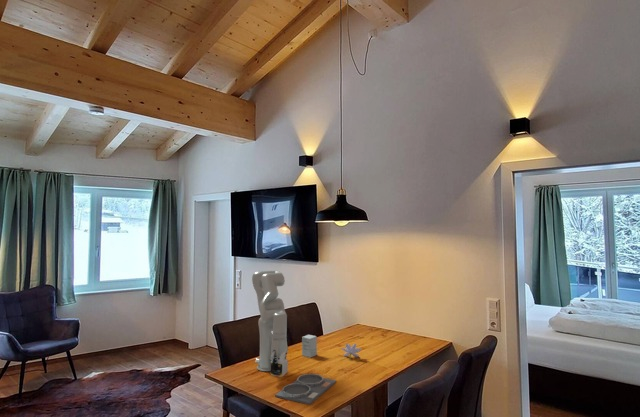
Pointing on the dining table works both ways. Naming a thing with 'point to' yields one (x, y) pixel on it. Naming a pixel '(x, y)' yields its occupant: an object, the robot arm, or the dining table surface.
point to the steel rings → (300, 384)
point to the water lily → (351, 350)
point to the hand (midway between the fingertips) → (279, 367)
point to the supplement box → (309, 346)
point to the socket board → (314, 391)
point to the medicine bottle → (280, 366)
